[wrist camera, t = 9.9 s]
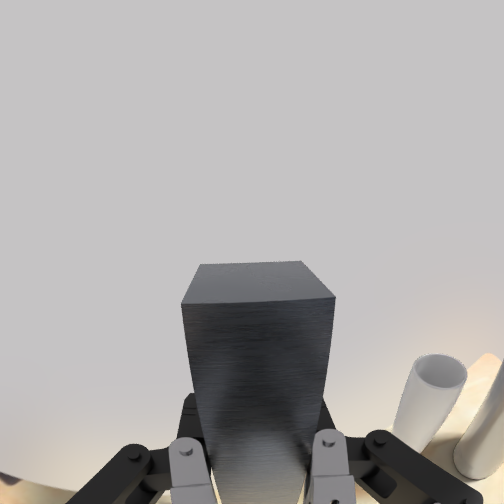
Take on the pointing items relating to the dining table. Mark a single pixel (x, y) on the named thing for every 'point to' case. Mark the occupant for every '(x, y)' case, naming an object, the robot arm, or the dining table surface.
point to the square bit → (258, 373)
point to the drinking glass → (428, 398)
